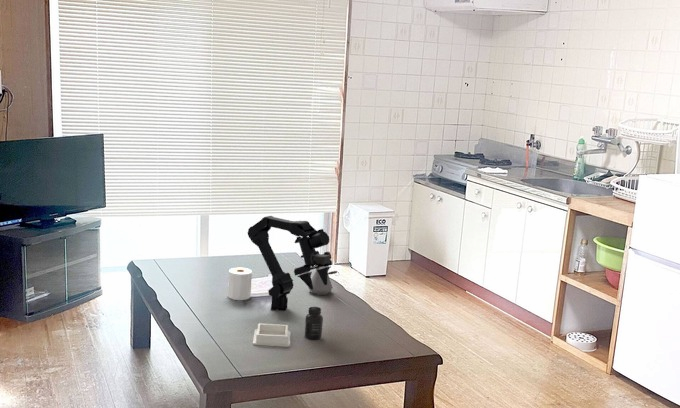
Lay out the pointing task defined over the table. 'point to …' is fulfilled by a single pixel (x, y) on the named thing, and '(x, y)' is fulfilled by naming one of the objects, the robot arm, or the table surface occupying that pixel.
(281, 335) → the holder
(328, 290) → the coffee pot
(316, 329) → the supplement bottle
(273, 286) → the robot arm
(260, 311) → the table surface
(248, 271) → the toilet paper
